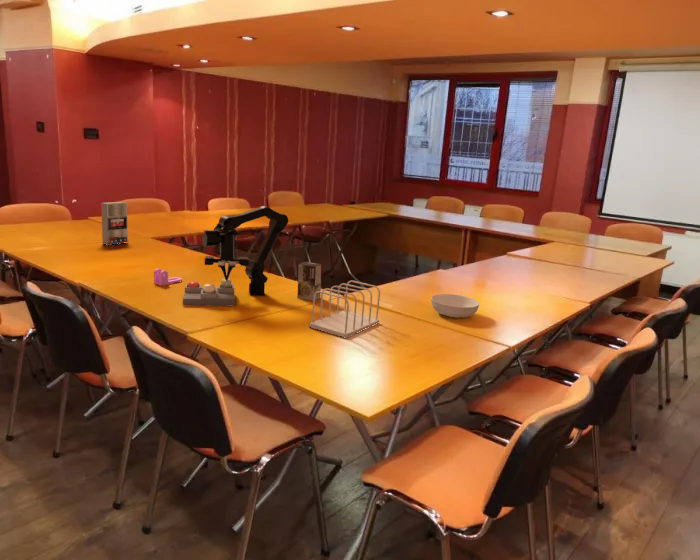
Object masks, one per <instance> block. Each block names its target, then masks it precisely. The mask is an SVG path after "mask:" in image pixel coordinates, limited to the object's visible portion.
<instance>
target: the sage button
mask: <svg viewBox="0 0 700 560" xmlns="http://www.w3.org/2000/svg"><path fill="white" fill-rule="evenodd" d="M220 284H221V287H222V288H231V284H232V279H230V278H228V280H225V278H222V279H221V280H220Z"/></svg>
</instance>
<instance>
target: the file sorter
mask: <svg viewBox="0 0 700 560" xmlns="http://www.w3.org/2000/svg"><path fill="white" fill-rule="evenodd" d="M350 283H355V284H359V285H364V286H367V287H371V288H372V287H373V288H375V289H376V290H377V291H378V292H377V293H378V295H377V304H376V305H377V307H376V313H375V314H376V315H375V316H376V317H375V318H374V317H371V315H372V303H373V293H372V291H371V290H370V289H369V288H367V287H363V286H357V285H353V284H350ZM349 287H351V288H349ZM334 288H337V289H334ZM354 288H356V289H354ZM358 289H362V290H365V291H367V292H369V295H370V298H369V299H370V300H369V313H368V316H367V315H364V311H365V294H364V293H363V292H362V290H358ZM342 290H345V291H342ZM326 291H329V292H326ZM349 291H352V292H357V293H360V294H361V296H362V305H361V306H362V308H361V314H359V313H357V305H358V304H357V303H358V302H357V301H358V299H357V297H356V295H355V294H354V293H350V292H349ZM332 292H336V293H337V295H336V294H333V293H332ZM317 293H320V311H319V312H320V313H319V314H320V316H319V318H318V319H316V320H315V321H314V316H315V305H316V304H315V303H316V300H315V296H316V294H317ZM340 294H344V295H345V297H343V296H341V295H340ZM324 295H328V296H329V299H328V301H329V303H328V316H325V317H323V298H324ZM348 295H349V296H352V297H353V299H354V312H352V311H349V309H350V303H349V300H348ZM332 297H335V298H337V301H336V302H337V304H336V313H333V314H331V308H332V306H331V305H332V304H331V303H332ZM340 299H342V300H344V309H343V310H341V311H339V306H340V305H339V303H340ZM380 299H381V289H380V288H379V287H378V286H376V285H374V284H369V283H366V282H361V281H356V280H349V281H347V283H344V282H343V283H340V284H339V285H333V286H332V287H330V288H328V287H327V288H324V289H321V291H317V292H315V294H314V298H313V301H312V310H311V322H309V323H308V327H309V328H310V327H311V328H310V329H314V330H317V329H318V331H320V330H321V332H323V331H325V332H324V333H327V332H328V333H327V334H330V333H332V334H331V335H333V334H335V335H334V336H336V335H339V336H338V337H340V336H342V337H341V338H343V337H345V338H344V339H348V338H350V337H352V336H354V335H353V334H355V333H357V332H359V331H361V330H363V329H365V328H368V327H370V326H372V325H374V324H376V323H378V322H379V323H380V319H379V318H378V317H379V308H380V307H379V306H380V301H381V300H380ZM370 328H371V327H370ZM368 329H369V328H368ZM361 332H362V331H361ZM359 333H360V332H359ZM357 334H358V333H357ZM351 335H352V336H351ZM355 335H356V334H355ZM349 336H350V337H349ZM347 337H348V338H347Z"/></svg>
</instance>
